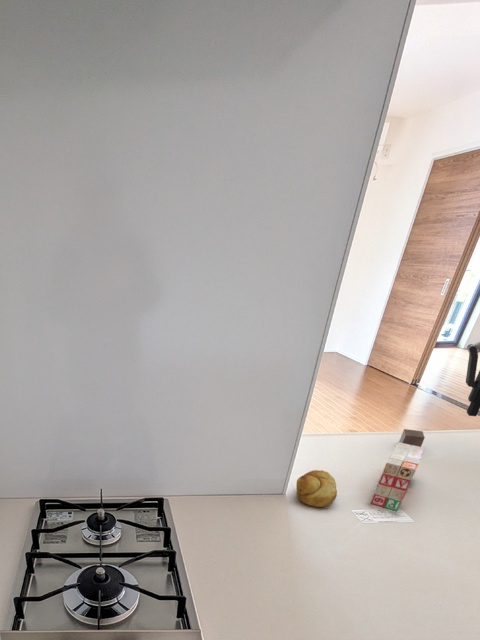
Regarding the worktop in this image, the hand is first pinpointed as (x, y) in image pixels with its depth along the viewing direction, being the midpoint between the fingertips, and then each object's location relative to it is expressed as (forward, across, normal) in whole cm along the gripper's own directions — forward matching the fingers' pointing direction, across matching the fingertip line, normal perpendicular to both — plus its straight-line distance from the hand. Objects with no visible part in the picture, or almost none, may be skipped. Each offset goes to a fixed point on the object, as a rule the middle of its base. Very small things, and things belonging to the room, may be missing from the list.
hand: (471, 414), depth 112 cm
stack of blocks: (+19, -13, -12) cm, 26 cm away
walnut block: (+19, -6, +18) cm, 27 cm away
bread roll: (+19, -32, -23) cm, 44 cm away
